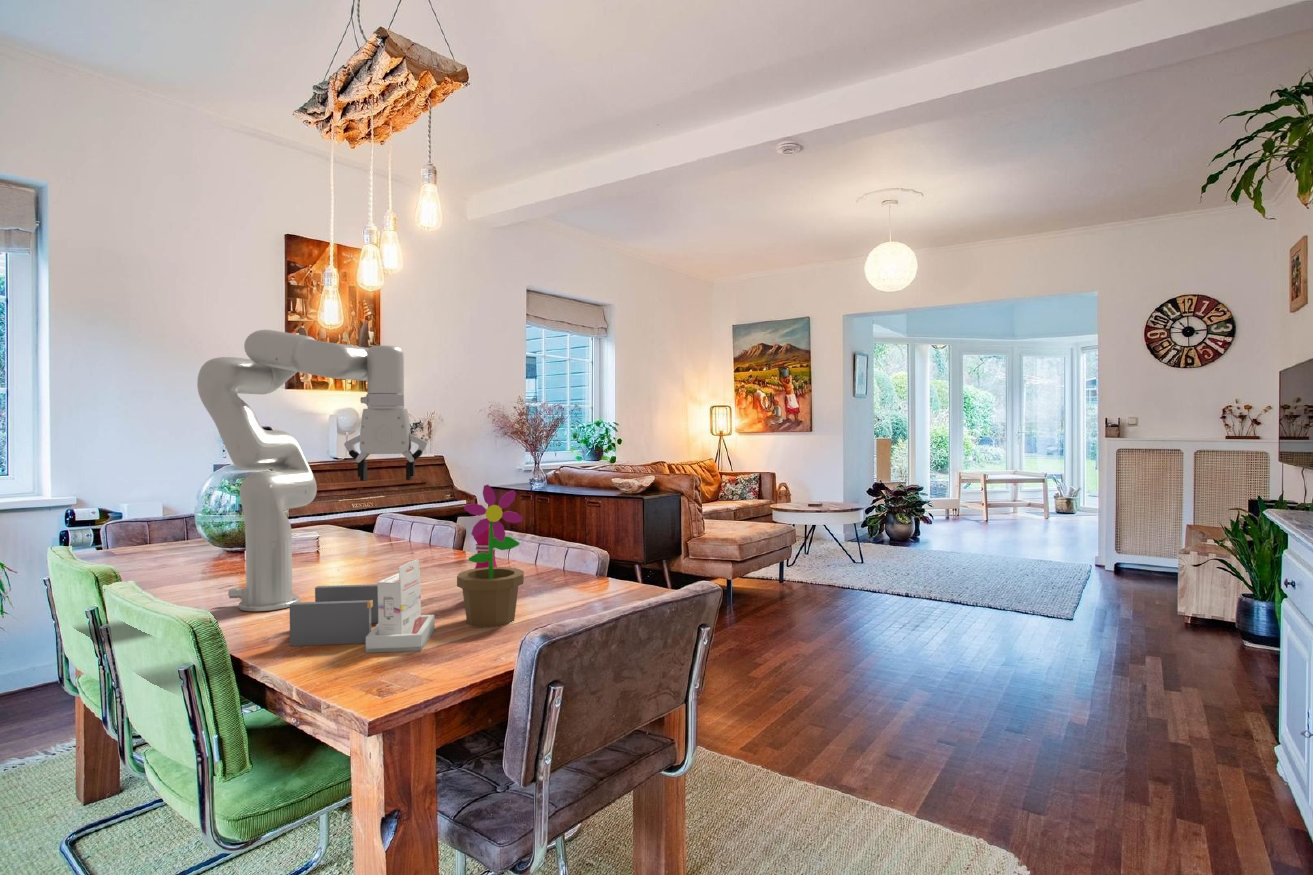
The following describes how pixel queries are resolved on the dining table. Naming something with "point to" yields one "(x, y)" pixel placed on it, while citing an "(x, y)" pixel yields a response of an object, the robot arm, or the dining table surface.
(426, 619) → the tray
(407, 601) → the ink cartridge box
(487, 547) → the pepper mill
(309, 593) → the dining table surface
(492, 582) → the flowerpot
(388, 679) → the dining table surface
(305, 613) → the bay
